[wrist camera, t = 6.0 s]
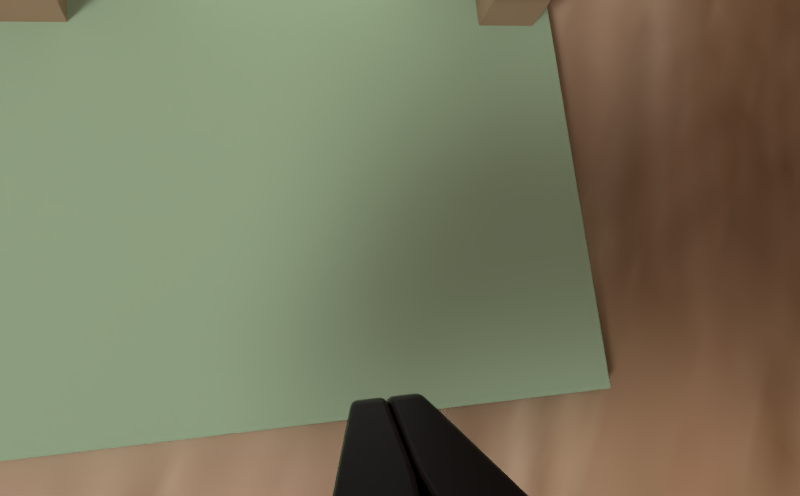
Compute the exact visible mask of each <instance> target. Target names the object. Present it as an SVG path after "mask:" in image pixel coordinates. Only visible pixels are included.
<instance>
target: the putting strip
mask: <svg viewBox="0 0 800 496" xmlns="http://www.w3.org/2000/svg"><path fill="white" fill-rule="evenodd" d="M66 1H67V22H0V461H7V460H15V459H23V458H32V457H40V456H48V455H57V454H65V453H73V452H82V451H90V450H99V449H107V448H115V447H124V446H132V445H140V444H149V443H157V442H166V441H174V440H182V439H191V438H199V437H207V436H216V435H224V434H233V433H241V432H249V431H258V430H266V429H274V428H283V427H291V426H299V425H308V424H316V423H325V422H333V421H341V420H348V415H349V410H350V406H351V404H352V402H353V401H355V400H362V399H371V398H379V397H380V398H384V399H385V400H386V401H387V399H388V398H389V397H391V396H397V395H406V394H415V393H417V394H420V395H422V396H424V397H425V398H426V399H427V400H428V401H429V402H430V403H431V404H433V405H434V406H435V407H436V408H437V409H442V408H450V407H459V406H467V405H475V404H484V403H492V402H500V401H509V400H517V399H525V398H534V397H542V396H551V395H559V394H567V393H576V392H584V391H592V390H601V389H609V388H611V387H610V381H609V375H608V369H607V363H606V357H605V351H604V345H603V339H602V333H601V327H600V321H599V315H598V309H597V303H596V297H595V291H594V285H593V279H592V273H591V267H590V261H589V255H588V249H587V243H586V237H585V231H584V225H583V219H582V213H581V207H580V201H579V195H578V189H577V183H576V177H575V171H574V165H573V159H572V153H571V147H570V141H569V135H568V129H567V123H566V117H565V111H564V105H563V99H562V93H561V87H560V81H559V75H558V69H557V63H556V57H555V51H554V45H553V39H552V33H551V27H550V21H549V15H548V9H547V7H546V8H545V9H544V11H543V12H542V14H541V15H540V16H539V18H538V19H537V20H536V22H535V23H534V24H533V26H483V25H479V22H478V15H477V8H476V1H475V0H66Z"/></svg>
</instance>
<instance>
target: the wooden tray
mask: <svg viewBox="0 0 800 496" xmlns="http://www.w3.org/2000/svg"><path fill="white" fill-rule="evenodd" d="M475 1H476V8H477V15H478V22H479V25H483V26H533V24H534V23H535V22H536V20H537V19H538V18H539V16H540V15H541V14H542V12H543V11H544V9H545V8H546V7H547V5H548V4H549V3H550V1H551V0H475ZM0 22H67V1H66V0H0Z"/></svg>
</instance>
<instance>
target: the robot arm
mask: <svg viewBox="0 0 800 496" xmlns="http://www.w3.org/2000/svg"><path fill="white" fill-rule="evenodd" d="M333 496H528V495H527V494H526V493H525V492H524V491H523V490H522V489H520V488H519V487H518V486H517V485H516V484H515V483H514V482H513V481H512V480H511V479H510V478H509V477H508V476H507V475H506V474H505V473H504V472H503V471H502V470H501V469H500V468H498V467H497V466H496V465H495V464H494V463H493V462H492V461H491V460H490V459H489V458H488V457H487V456H486V455H485V454H484V453H483V452H482V451H481V450H480V449H479V448H478V447H477V446H475V445H474V444H473V443H472V442H471V441H470V440H469V439H468V438H467V437H466V436H465V435H464V434H463V433H462V432H461V431H460V430H459V429H458V428H457V427H456V426H455V425H453V424H452V423H451V422H450V421H449V420H448V419H447V418H446V417H445V416H444V415H443V414H442V413H441V412H440V411H439V410H438V409H437V408H436V407H435V406H434V405H433V404H431V403H430V402H429V401H428V400H427V399H426V398H425V397H424V396H422V395H420V394H417V393H415V394H406V395H397V396H391V397H389V398H388V399H387V401H386V400H385V399H384V398H380V397H379V398H371V399H362V400H355V401H353V402H352V404H351V406H350V410H349V415H348V420H347V425H346V430H345V436H344V441H343V446H342V451H341V456H340V461H339V466H338V471H337V476H336V481H335V486H334V491H333Z"/></svg>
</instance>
